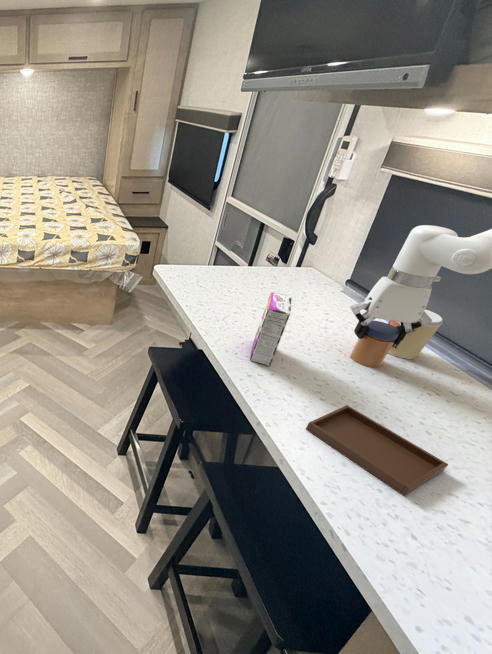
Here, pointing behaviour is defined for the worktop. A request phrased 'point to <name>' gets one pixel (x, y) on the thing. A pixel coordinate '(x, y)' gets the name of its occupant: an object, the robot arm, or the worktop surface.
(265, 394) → the worktop surface
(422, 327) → the coffee cup
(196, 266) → the worktop surface
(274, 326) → the candy bar box
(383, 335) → the jar lid
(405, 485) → the walnut tray
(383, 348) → the jam jar
